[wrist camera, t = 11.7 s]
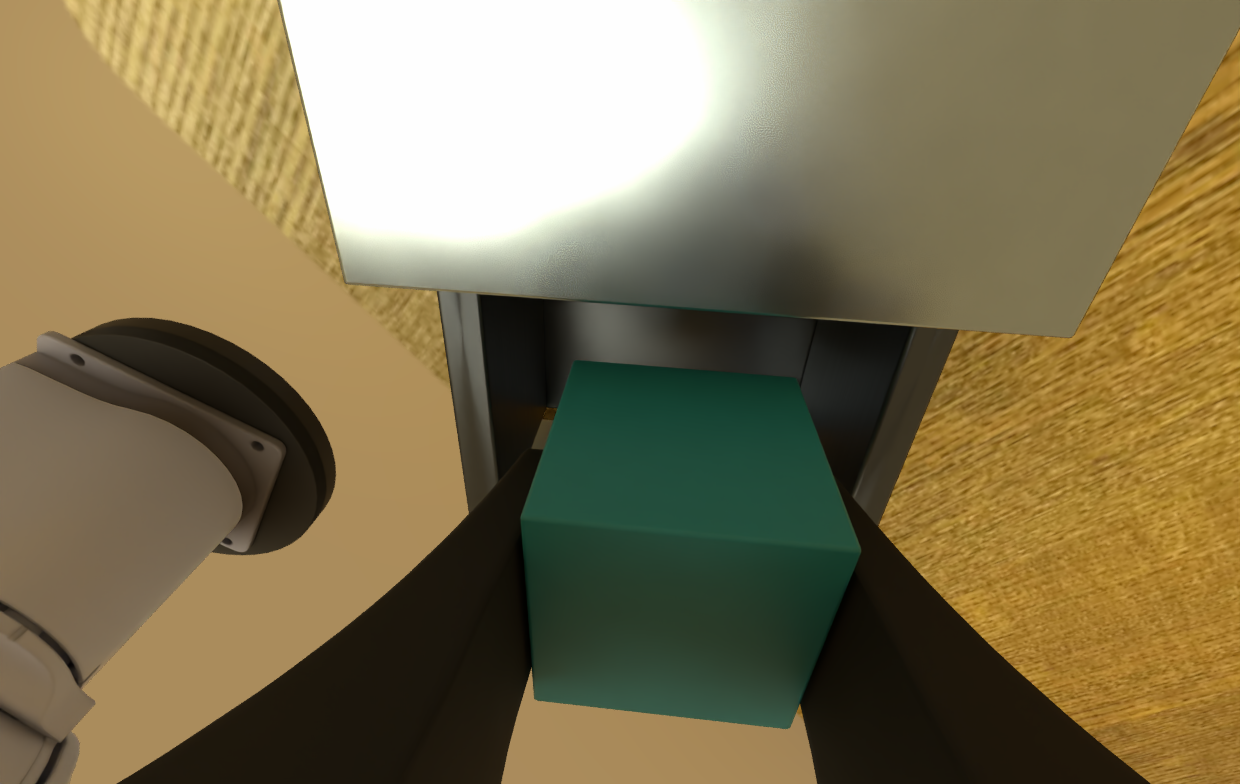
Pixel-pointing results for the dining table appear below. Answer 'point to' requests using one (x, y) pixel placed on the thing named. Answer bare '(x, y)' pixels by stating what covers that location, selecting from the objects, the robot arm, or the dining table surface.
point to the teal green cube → (682, 545)
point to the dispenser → (752, 148)
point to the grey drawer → (703, 340)
